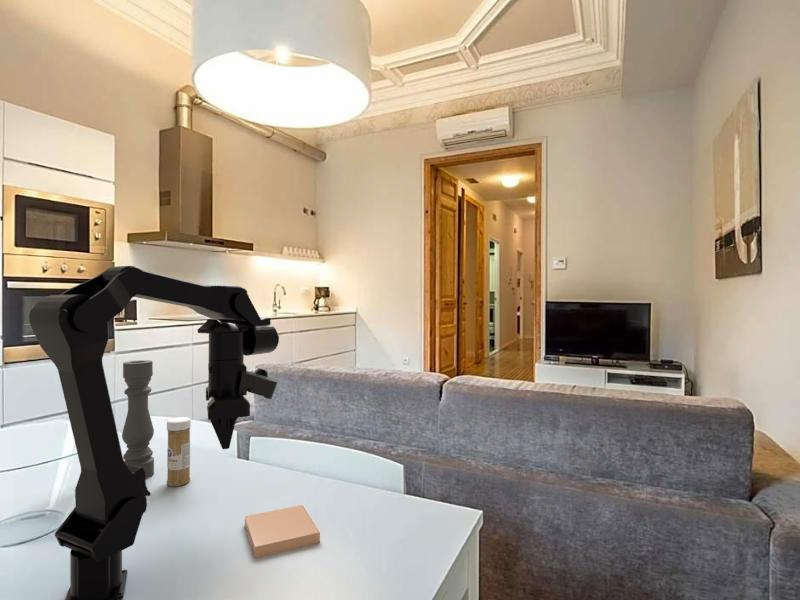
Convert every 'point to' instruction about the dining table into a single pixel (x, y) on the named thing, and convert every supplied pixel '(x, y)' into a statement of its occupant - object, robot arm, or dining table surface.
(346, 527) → the dining table surface
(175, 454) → the sprinkles bottle
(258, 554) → the tile
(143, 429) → the candle holder
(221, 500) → the dining table surface
